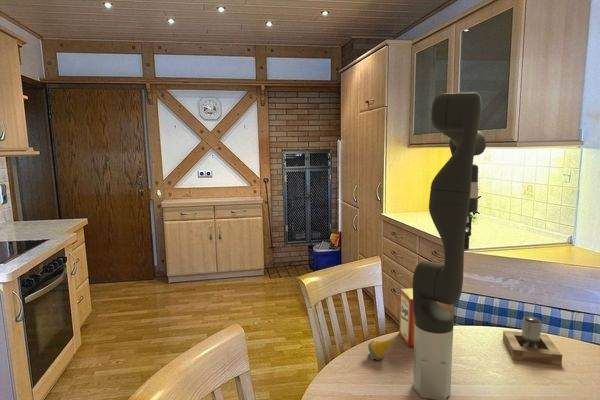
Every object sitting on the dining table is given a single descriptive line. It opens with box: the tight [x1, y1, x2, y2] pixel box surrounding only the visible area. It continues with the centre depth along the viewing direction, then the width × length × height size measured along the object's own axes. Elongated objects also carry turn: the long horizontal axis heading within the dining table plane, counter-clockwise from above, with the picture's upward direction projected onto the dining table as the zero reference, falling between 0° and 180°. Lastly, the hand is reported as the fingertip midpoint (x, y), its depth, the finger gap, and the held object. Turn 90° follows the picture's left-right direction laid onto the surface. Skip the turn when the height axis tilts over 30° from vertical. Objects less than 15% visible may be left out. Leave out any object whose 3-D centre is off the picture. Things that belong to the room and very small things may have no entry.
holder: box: [502, 330, 563, 366], centre depth 118 cm, size 12×12×3 cm
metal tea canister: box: [520, 315, 542, 349], centre depth 118 cm, size 5×5×10 cm
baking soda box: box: [398, 287, 415, 349], centre depth 125 cm, size 10×6×16 cm
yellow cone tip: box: [367, 339, 393, 361], centre depth 114 cm, size 5×5×10 cm
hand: (463, 247), depth 124 cm, fingers open, 8 cm apart
